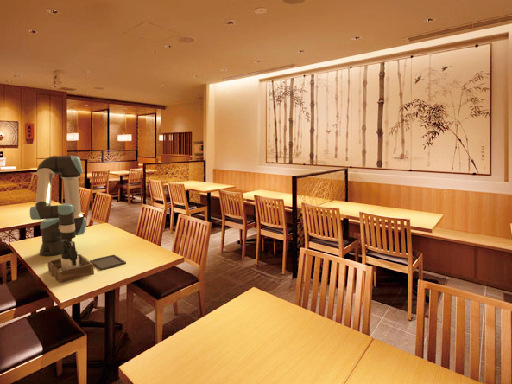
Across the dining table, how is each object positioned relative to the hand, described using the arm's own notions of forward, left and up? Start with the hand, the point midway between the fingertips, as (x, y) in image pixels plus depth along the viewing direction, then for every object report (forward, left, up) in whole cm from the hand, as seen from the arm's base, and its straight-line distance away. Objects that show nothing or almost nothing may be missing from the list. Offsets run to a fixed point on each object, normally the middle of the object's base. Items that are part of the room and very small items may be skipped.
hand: (70, 267), depth 188 cm
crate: (0, 0, -3) cm, 3 cm away
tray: (0, +21, -3) cm, 21 cm away
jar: (0, 0, -4) cm, 4 cm away
